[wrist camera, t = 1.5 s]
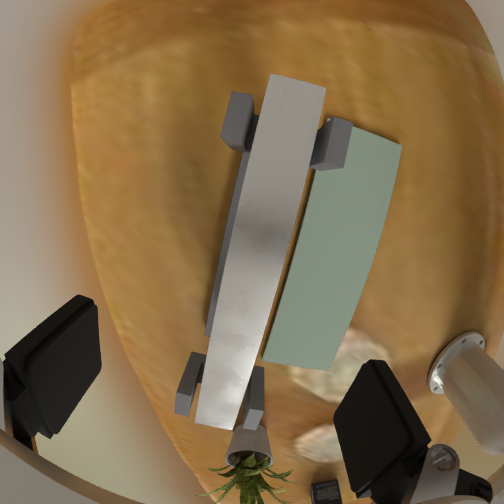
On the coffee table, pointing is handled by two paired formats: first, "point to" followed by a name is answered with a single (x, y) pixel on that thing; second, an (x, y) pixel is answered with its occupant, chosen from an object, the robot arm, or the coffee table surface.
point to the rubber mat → (333, 253)
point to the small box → (326, 493)
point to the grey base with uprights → (238, 138)
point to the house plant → (249, 465)
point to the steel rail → (259, 243)
